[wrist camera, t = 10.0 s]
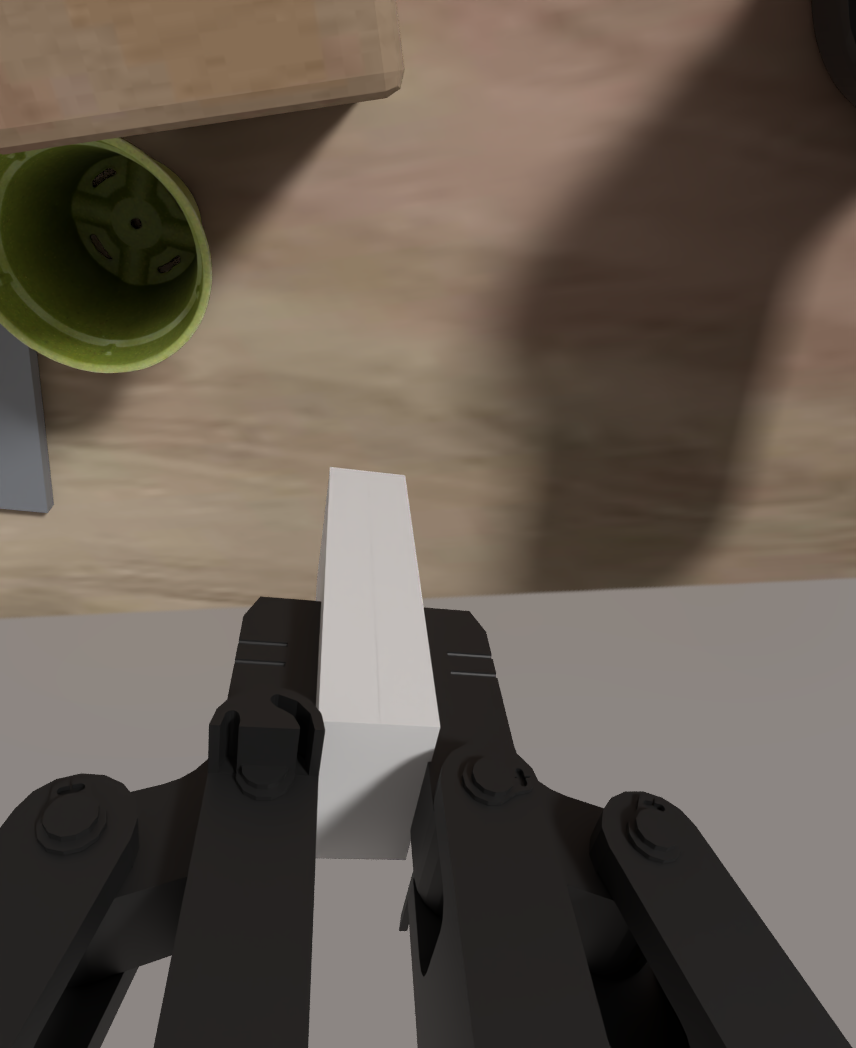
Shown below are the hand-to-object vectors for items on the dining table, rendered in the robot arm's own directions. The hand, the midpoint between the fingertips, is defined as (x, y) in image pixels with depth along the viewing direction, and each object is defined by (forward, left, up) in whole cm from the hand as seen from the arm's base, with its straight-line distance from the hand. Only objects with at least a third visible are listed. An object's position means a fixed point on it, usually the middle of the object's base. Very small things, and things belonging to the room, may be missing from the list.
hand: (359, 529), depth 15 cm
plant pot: (0, -10, -27) cm, 29 cm away
